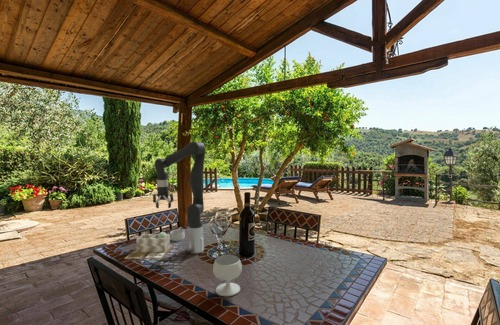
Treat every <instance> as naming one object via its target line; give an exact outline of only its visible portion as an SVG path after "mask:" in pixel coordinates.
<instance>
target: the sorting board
mask: <svg viewBox="0 0 500 325" xmlns="http://www.w3.org/2000/svg"><path fill="white" fill-rule="evenodd" d="M158 234H159V233H143V234H141V235H139V236H138V237H137V238H135V250H133V251H132V252H131V253H129V254H128V255H126V257H124V258H123V260H163V259H164V258H165V257H166V256H167V255H168V254H169V253H170V252H171V250H172V249H173V248H174V247H175V246H176V245H171V237H170V233H166V235H167V236H166V237H165V238H159V239H158Z"/></svg>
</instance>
